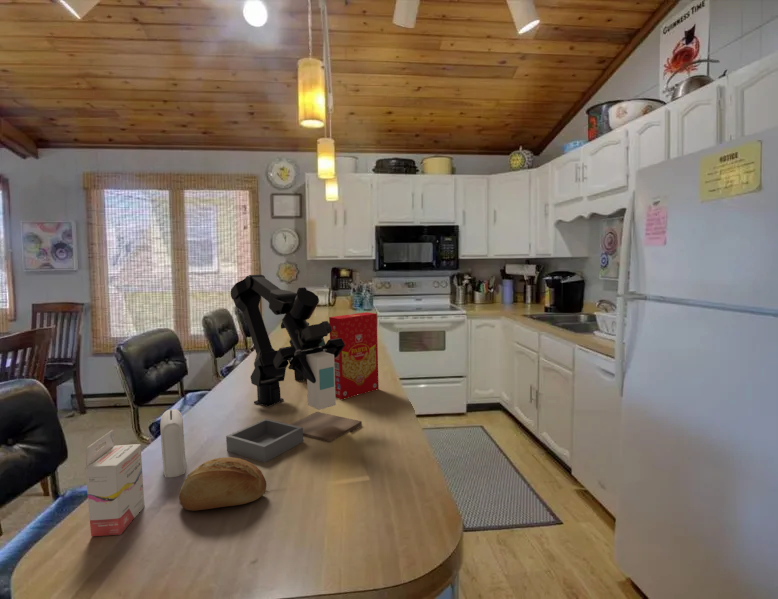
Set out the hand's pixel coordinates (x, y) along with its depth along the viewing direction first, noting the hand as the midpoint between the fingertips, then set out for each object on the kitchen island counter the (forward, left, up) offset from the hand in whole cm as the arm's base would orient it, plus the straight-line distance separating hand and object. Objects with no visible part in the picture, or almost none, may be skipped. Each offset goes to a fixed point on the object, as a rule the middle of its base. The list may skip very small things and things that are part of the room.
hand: (323, 380), depth 111 cm
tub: (-6, -15, -13) cm, 21 cm away
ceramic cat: (-39, +39, -13) cm, 57 cm away
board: (-1, 0, -13) cm, 13 cm away
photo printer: (-15, -31, -13) cm, 37 cm away
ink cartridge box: (-6, -47, -13) cm, 49 cm away
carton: (-1, 0, -7) cm, 7 cm away
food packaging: (-11, +29, -13) cm, 34 cm away
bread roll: (+5, -35, -13) cm, 38 cm away
